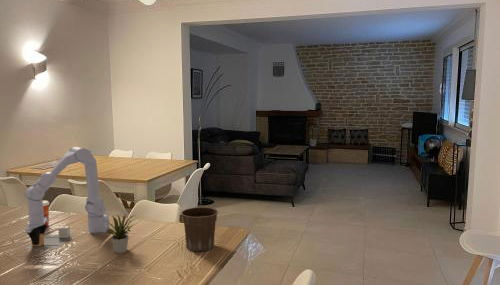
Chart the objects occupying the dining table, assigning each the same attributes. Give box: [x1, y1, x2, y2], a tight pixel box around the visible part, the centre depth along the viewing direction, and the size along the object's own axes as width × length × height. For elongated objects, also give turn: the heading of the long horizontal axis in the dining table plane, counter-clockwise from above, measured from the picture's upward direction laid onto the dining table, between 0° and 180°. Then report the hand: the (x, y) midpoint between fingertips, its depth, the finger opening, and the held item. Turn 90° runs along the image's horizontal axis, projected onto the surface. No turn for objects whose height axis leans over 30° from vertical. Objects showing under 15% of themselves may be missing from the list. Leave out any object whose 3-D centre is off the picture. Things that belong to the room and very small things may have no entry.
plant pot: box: [180, 206, 219, 252], centre depth 171 cm, size 16×16×16 cm
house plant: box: [103, 213, 136, 254], centre depth 167 cm, size 14×14×16 cm
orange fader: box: [31, 233, 45, 246], centre depth 170 cm, size 4×3×5 cm
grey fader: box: [57, 225, 71, 238], centre depth 180 cm, size 4×3×5 cm
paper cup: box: [43, 200, 50, 228], centre depth 196 cm, size 8×8×14 cm
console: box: [24, 233, 76, 250], centre depth 175 cm, size 14×18×1 cm
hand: (38, 243), depth 170 cm, fingers open, 3 cm apart
